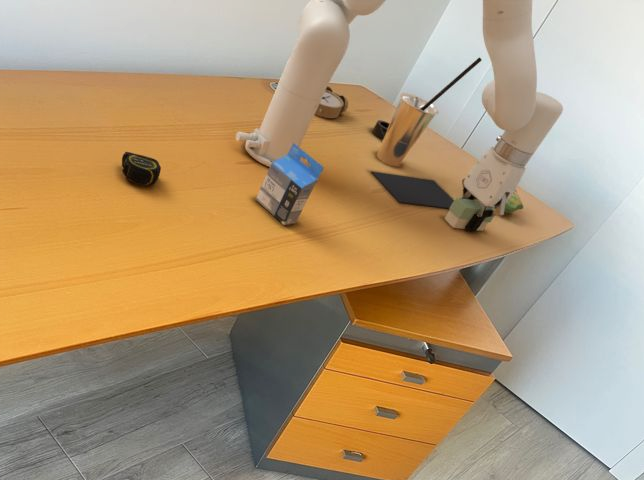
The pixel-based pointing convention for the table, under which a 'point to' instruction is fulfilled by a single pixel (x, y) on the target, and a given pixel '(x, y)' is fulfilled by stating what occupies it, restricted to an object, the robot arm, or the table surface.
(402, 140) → the metal cup with straw
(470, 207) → the green and beige block
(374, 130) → the duct tape
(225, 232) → the table surface
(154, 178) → the tape measure
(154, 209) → the table surface
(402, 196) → the desk mat
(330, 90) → the alarm clock
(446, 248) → the table surface
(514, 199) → the educational model
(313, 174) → the ink cartridge box
